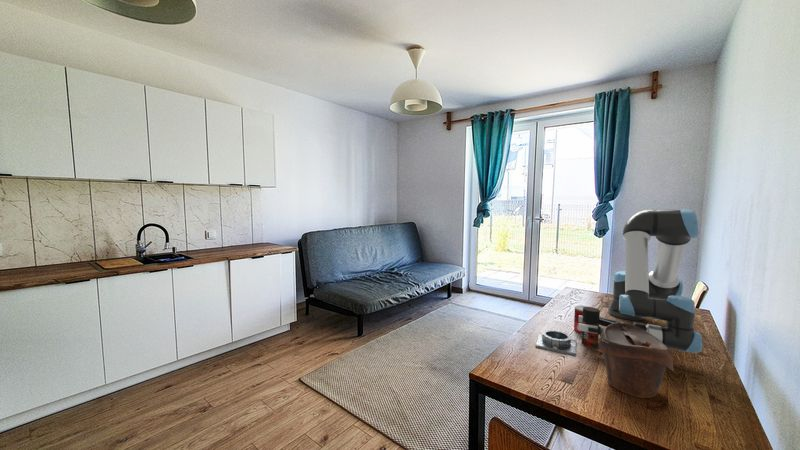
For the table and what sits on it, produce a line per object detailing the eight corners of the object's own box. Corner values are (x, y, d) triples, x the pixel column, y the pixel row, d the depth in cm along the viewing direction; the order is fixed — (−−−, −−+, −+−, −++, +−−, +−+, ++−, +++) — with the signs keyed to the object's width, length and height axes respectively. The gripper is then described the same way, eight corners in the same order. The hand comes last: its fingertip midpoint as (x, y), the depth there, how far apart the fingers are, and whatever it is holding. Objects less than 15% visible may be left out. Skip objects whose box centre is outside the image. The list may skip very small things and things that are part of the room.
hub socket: (539, 334, 138) (540, 326, 137) (575, 341, 131) (576, 332, 130) (535, 347, 126) (536, 337, 125) (575, 355, 119) (575, 345, 118)
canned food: (597, 336, 137) (598, 311, 136) (577, 334, 138) (578, 310, 138) (590, 329, 144) (591, 306, 143) (571, 327, 146) (572, 304, 145)
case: (651, 413, 86) (655, 350, 85) (583, 377, 104) (585, 324, 103) (686, 398, 93) (690, 340, 92) (617, 367, 111) (619, 318, 110)
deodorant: (579, 344, 128) (581, 309, 127) (583, 340, 132) (584, 305, 131) (596, 349, 124) (598, 312, 123) (599, 344, 128) (601, 309, 127)
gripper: (650, 355, 109) (577, 341, 120) (640, 333, 128) (578, 322, 140) (652, 334, 109) (578, 322, 120) (641, 315, 128) (579, 306, 139)
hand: (578, 322), depth 130 cm, fingers open, 10 cm apart
